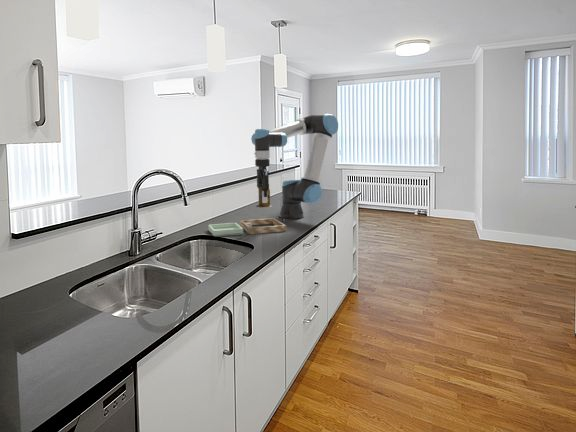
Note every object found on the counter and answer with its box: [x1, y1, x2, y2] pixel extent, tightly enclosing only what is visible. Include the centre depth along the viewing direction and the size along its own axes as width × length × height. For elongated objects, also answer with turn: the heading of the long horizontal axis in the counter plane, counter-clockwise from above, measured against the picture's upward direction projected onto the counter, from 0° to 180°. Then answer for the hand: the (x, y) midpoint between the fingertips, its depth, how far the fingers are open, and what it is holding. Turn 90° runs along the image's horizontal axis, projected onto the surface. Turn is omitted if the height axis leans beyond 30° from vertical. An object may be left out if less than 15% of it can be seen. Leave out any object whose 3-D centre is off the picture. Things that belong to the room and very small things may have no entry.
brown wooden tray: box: [239, 217, 287, 235], centre depth 221 cm, size 20×20×3 cm
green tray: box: [208, 222, 244, 238], centre depth 212 cm, size 15×15×3 cm
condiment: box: [253, 184, 273, 209], centre depth 218 cm, size 7×8×12 cm
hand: (263, 201), depth 219 cm, fingers closed on condiment, 6 cm apart
